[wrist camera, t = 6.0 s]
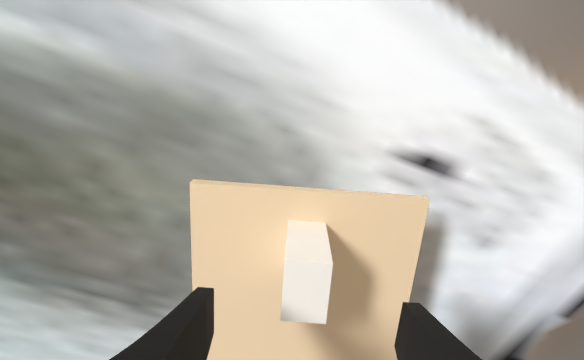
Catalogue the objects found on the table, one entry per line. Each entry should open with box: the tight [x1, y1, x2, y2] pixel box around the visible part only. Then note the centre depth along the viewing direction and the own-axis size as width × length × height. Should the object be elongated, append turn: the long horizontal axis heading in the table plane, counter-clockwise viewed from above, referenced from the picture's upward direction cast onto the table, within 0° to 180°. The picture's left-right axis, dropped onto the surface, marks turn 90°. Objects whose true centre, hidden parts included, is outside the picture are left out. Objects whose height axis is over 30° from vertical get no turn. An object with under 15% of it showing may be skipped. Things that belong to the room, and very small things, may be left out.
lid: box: [190, 179, 430, 360], centre depth 17 cm, size 14×12×5 cm
